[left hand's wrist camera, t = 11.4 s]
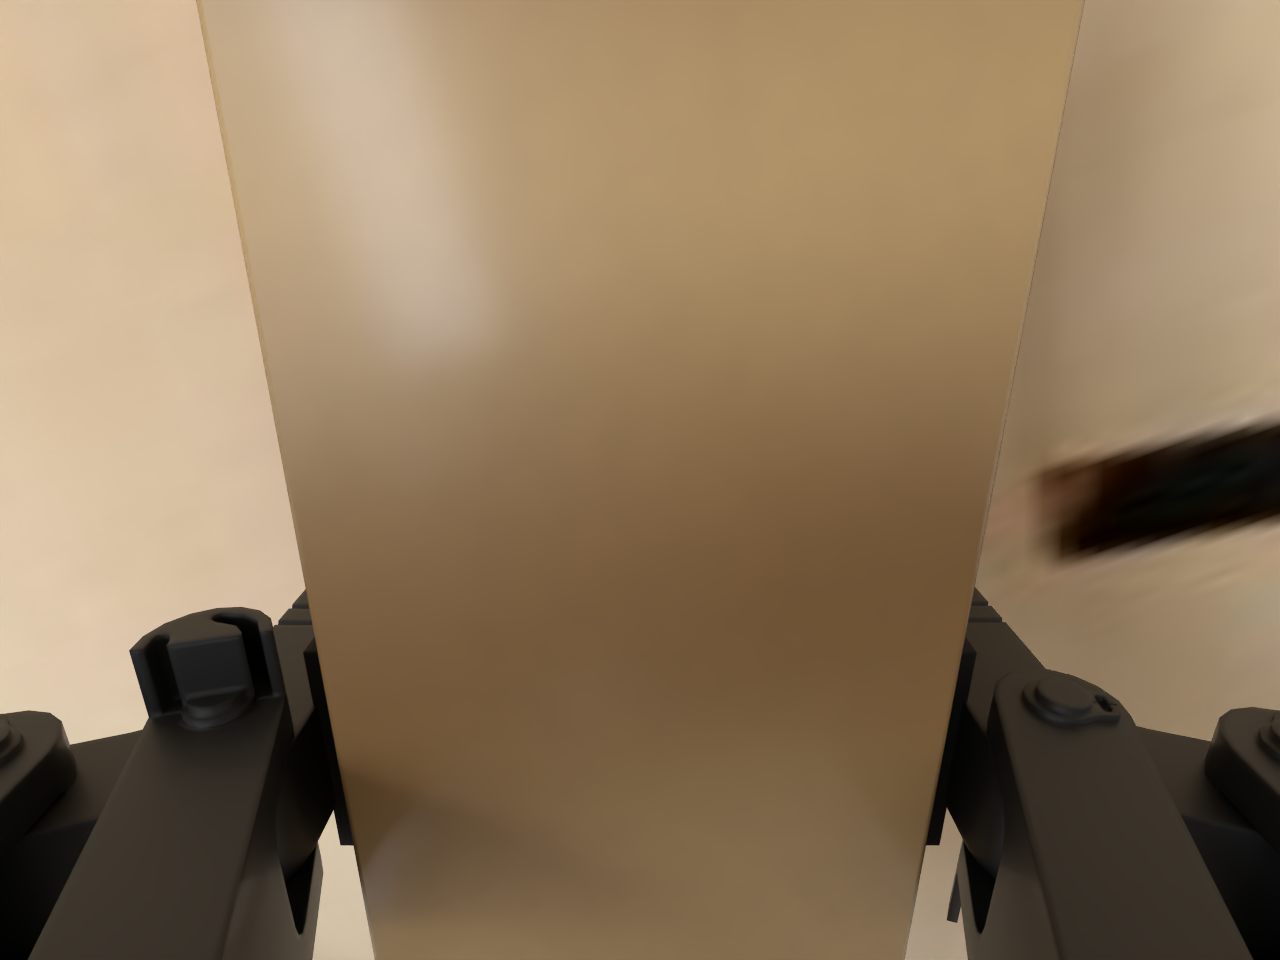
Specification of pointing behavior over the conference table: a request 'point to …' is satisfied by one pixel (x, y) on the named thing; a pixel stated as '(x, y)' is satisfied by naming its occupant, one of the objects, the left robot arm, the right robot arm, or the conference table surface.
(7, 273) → the conference table surface
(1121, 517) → the conference table surface
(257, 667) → the left robot arm
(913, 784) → the post
